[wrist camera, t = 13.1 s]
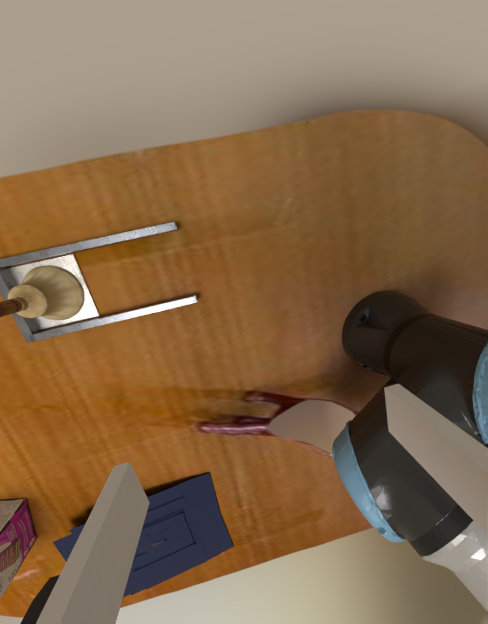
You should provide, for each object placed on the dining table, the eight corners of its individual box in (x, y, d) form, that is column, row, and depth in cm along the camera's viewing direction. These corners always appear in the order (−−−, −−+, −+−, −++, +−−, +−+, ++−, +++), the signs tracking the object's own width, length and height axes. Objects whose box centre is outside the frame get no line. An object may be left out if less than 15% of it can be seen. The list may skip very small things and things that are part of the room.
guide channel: (197, 299, 38) (196, 302, 36) (36, 337, 36) (27, 342, 34) (176, 223, 34) (174, 221, 32) (-3, 261, 33) (-17, 262, 31)
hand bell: (59, 330, 36) (-53, 391, 21) (9, 292, 34) (-159, 328, 18) (96, 295, 35) (7, 331, 20) (47, 253, 33) (-95, 258, 18)
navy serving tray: (55, 519, 44) (45, 541, 41) (207, 460, 50) (209, 475, 47) (102, 592, 51) (97, 616, 48) (231, 534, 57) (234, 551, 54)
